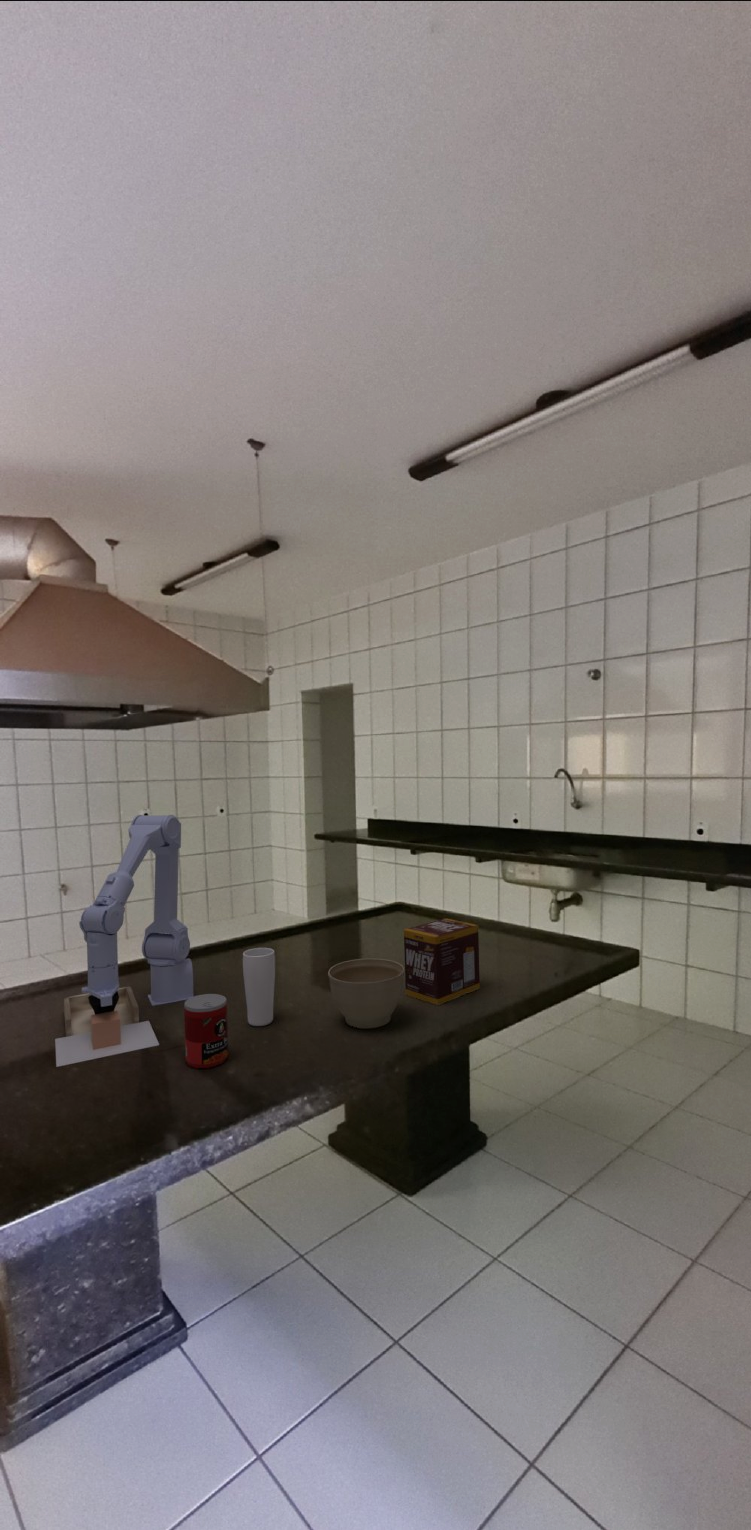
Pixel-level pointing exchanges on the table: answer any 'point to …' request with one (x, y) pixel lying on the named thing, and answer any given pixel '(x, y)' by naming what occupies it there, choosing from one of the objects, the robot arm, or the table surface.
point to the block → (105, 1030)
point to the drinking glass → (259, 984)
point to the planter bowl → (366, 990)
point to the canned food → (206, 1030)
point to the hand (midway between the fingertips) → (104, 1030)
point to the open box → (81, 1011)
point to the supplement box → (441, 960)
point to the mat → (82, 1049)
